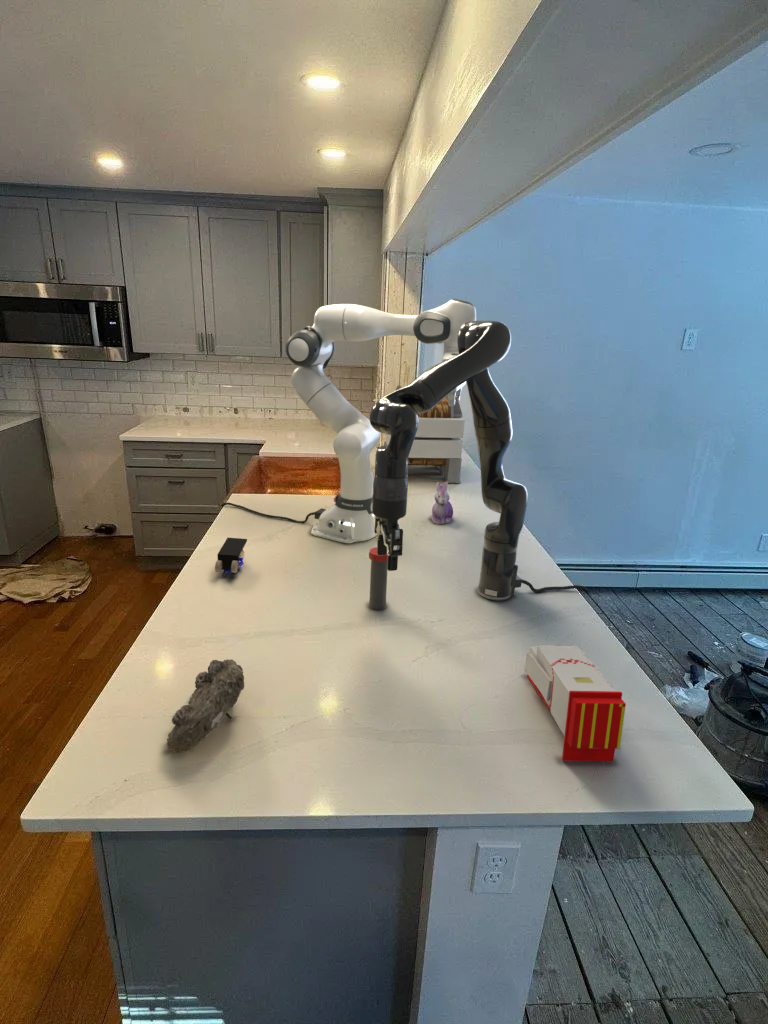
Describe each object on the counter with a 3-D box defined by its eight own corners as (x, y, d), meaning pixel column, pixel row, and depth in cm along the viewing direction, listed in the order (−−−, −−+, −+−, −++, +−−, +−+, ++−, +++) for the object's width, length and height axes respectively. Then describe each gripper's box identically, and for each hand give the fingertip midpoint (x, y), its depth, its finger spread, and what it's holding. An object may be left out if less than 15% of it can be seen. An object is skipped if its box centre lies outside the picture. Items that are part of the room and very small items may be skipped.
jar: (375, 611, 148) (378, 557, 143) (366, 604, 152) (368, 551, 146) (388, 606, 151) (391, 553, 146) (379, 600, 154) (381, 548, 149)
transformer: (382, 463, 289) (386, 382, 275) (445, 464, 293) (451, 384, 279) (390, 482, 257) (394, 392, 243) (460, 483, 261) (468, 394, 247)
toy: (573, 628, 126) (635, 699, 97) (567, 683, 129) (626, 769, 99) (519, 627, 125) (565, 698, 96) (514, 682, 128) (557, 768, 99)
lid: (377, 564, 143) (377, 557, 142) (364, 556, 147) (364, 549, 146) (394, 559, 146) (394, 552, 145) (381, 551, 150) (382, 545, 150)
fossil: (192, 660, 117) (244, 628, 112) (224, 691, 120) (276, 661, 115) (142, 746, 98) (202, 712, 93) (182, 779, 101) (242, 748, 96)
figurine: (438, 526, 208) (441, 487, 203) (424, 517, 217) (426, 479, 211) (459, 522, 212) (463, 484, 207) (444, 514, 221) (447, 477, 216)
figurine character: (238, 584, 162) (249, 557, 175) (236, 562, 158) (247, 536, 172) (215, 584, 161) (227, 556, 175) (212, 561, 158) (225, 535, 171)
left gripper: (453, 354, 180) (449, 398, 185) (441, 358, 161) (437, 407, 166) (473, 355, 178) (468, 399, 183) (463, 360, 160) (459, 409, 164)
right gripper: (416, 503, 118) (412, 574, 123) (397, 483, 130) (393, 548, 136) (382, 505, 116) (378, 577, 121) (365, 485, 128) (363, 550, 134)
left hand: (454, 403), depth 174 cm, fingers open, 8 cm apart
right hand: (386, 562), depth 128 cm, fingers open, 8 cm apart
